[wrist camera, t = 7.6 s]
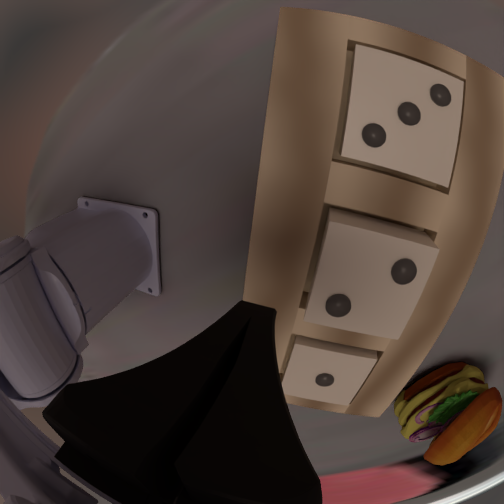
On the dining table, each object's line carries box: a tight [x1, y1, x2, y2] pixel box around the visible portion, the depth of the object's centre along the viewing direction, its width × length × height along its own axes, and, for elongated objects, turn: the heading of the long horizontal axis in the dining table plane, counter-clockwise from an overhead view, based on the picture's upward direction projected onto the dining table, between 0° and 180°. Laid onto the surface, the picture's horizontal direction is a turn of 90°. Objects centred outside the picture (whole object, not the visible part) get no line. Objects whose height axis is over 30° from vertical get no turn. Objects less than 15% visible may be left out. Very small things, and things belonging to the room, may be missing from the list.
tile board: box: [243, 7, 504, 417], centre depth 16 cm, size 14×28×3 cm, turn 173°
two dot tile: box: [303, 207, 440, 340], centre depth 14 cm, size 6×6×3 cm
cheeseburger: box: [394, 362, 502, 465], centre depth 17 cm, size 10×11×10 cm
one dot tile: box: [281, 334, 377, 406], centre depth 19 cm, size 6×6×3 cm
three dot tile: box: [339, 44, 464, 188], centre depth 11 cm, size 6×6×3 cm
